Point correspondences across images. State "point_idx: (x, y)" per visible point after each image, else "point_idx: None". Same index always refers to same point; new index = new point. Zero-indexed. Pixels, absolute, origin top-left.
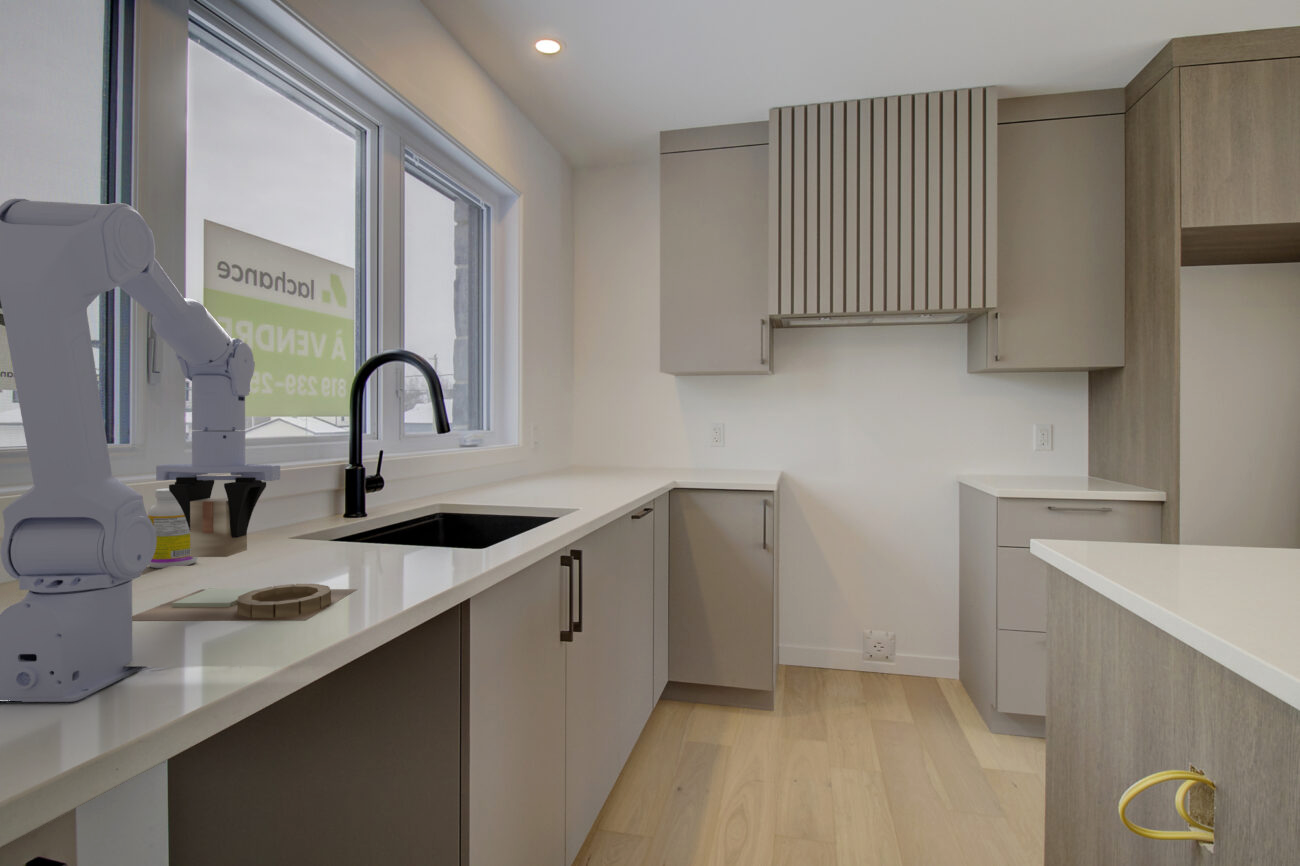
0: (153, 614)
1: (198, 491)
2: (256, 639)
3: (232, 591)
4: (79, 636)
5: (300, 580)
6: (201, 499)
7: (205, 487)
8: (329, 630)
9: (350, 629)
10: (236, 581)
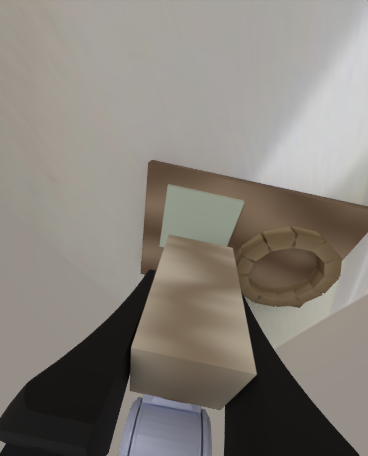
0: (157, 263)
1: (115, 410)
2: (258, 306)
3: (206, 210)
4: None
5: (293, 20)
6: (131, 374)
7: (108, 414)
8: (315, 303)
9: (333, 305)
10: (147, 2)
